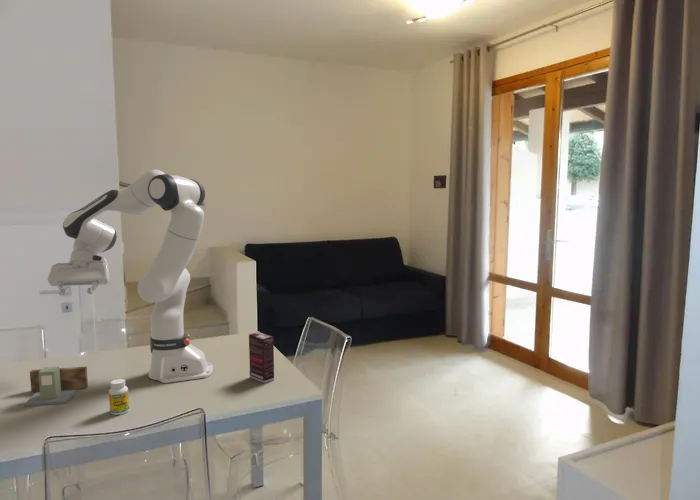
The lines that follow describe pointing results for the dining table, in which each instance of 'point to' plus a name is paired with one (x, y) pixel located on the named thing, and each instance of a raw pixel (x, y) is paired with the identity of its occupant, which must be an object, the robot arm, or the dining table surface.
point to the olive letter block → (49, 383)
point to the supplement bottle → (118, 397)
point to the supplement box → (261, 357)
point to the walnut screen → (64, 378)
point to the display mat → (60, 399)
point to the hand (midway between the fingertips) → (75, 293)
